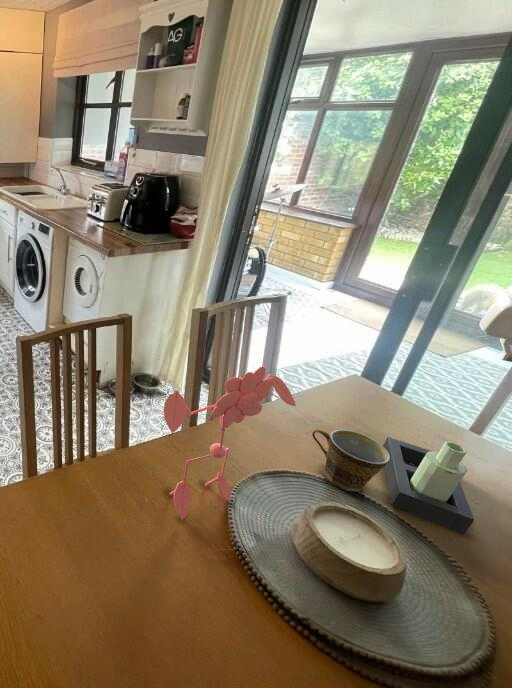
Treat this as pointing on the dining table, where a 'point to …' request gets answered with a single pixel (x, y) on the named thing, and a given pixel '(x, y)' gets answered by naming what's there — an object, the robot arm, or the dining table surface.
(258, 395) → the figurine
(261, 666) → the dining table surface
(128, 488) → the dining table surface
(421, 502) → the holder
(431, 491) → the bottle
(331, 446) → the ceramic cup
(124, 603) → the dining table surface
